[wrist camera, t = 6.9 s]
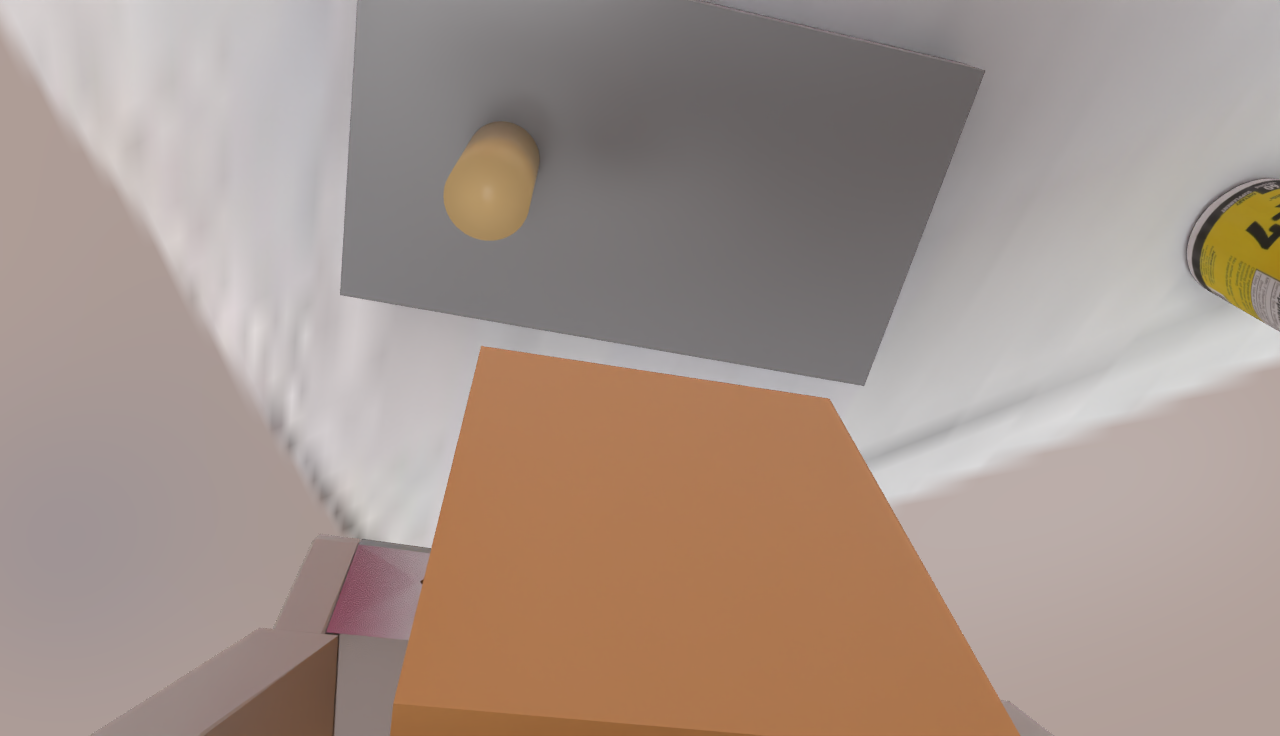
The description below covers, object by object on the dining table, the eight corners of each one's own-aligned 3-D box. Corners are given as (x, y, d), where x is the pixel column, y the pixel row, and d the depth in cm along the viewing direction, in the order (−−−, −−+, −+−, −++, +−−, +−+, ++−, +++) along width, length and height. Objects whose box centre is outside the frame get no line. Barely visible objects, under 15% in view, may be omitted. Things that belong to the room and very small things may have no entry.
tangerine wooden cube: (829, 398, 12) (1033, 758, 7) (742, 652, 14) (843, 1082, 9) (481, 346, 11) (393, 702, 6) (445, 622, 13) (356, 1070, 8)
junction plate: (961, 62, 29) (1062, 96, 23) (849, 362, 34) (907, 456, 28) (377, -77, 26) (311, -82, 20) (354, 274, 31) (296, 357, 25)
